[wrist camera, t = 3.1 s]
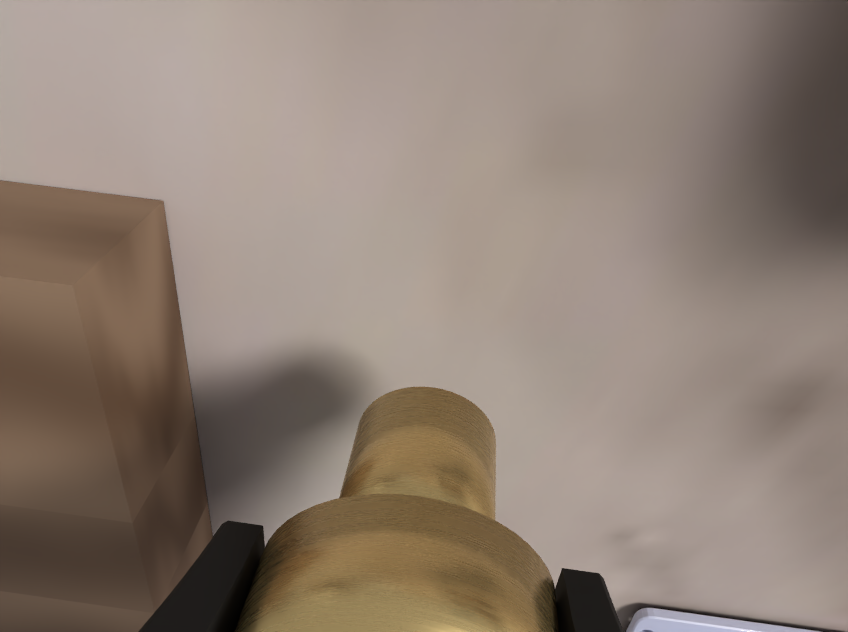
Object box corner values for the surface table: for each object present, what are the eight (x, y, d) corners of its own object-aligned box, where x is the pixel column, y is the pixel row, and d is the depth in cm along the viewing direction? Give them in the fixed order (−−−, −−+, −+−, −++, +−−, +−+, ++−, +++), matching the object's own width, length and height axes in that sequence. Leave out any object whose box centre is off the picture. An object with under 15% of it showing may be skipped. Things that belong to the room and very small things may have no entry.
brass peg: (520, 530, 15) (531, 855, 10) (313, 501, 15) (219, 806, 10) (565, 364, 12) (612, 697, 7) (312, 331, 13) (182, 633, 8)
